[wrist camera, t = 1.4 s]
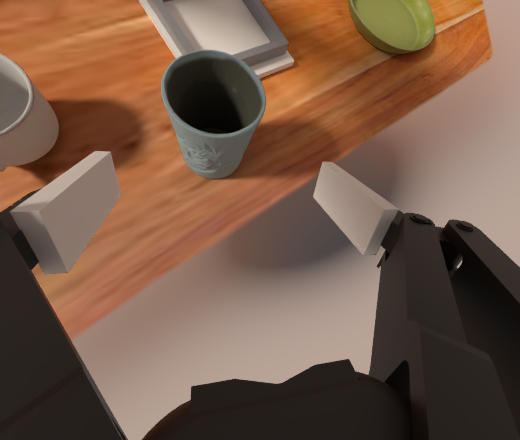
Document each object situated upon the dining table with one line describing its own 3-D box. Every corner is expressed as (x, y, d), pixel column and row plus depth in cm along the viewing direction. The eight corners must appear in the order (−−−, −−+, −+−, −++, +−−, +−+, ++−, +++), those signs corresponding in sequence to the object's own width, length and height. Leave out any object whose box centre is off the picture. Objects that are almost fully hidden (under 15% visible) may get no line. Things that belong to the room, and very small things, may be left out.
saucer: (328, 30, 44) (337, 12, 41) (352, -32, 50) (362, -51, 47) (414, 79, 47) (429, 66, 44) (428, 15, 53) (442, 0, 50)
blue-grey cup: (169, 173, 31) (147, 119, 20) (186, 112, 34) (176, 33, 22) (240, 190, 33) (258, 149, 22) (251, 131, 36) (273, 66, 24)
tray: (137, -2, 36) (130, -25, 33) (232, -22, 41) (234, -44, 38) (203, 100, 35) (202, 85, 32) (292, 65, 40) (298, 50, 37)
